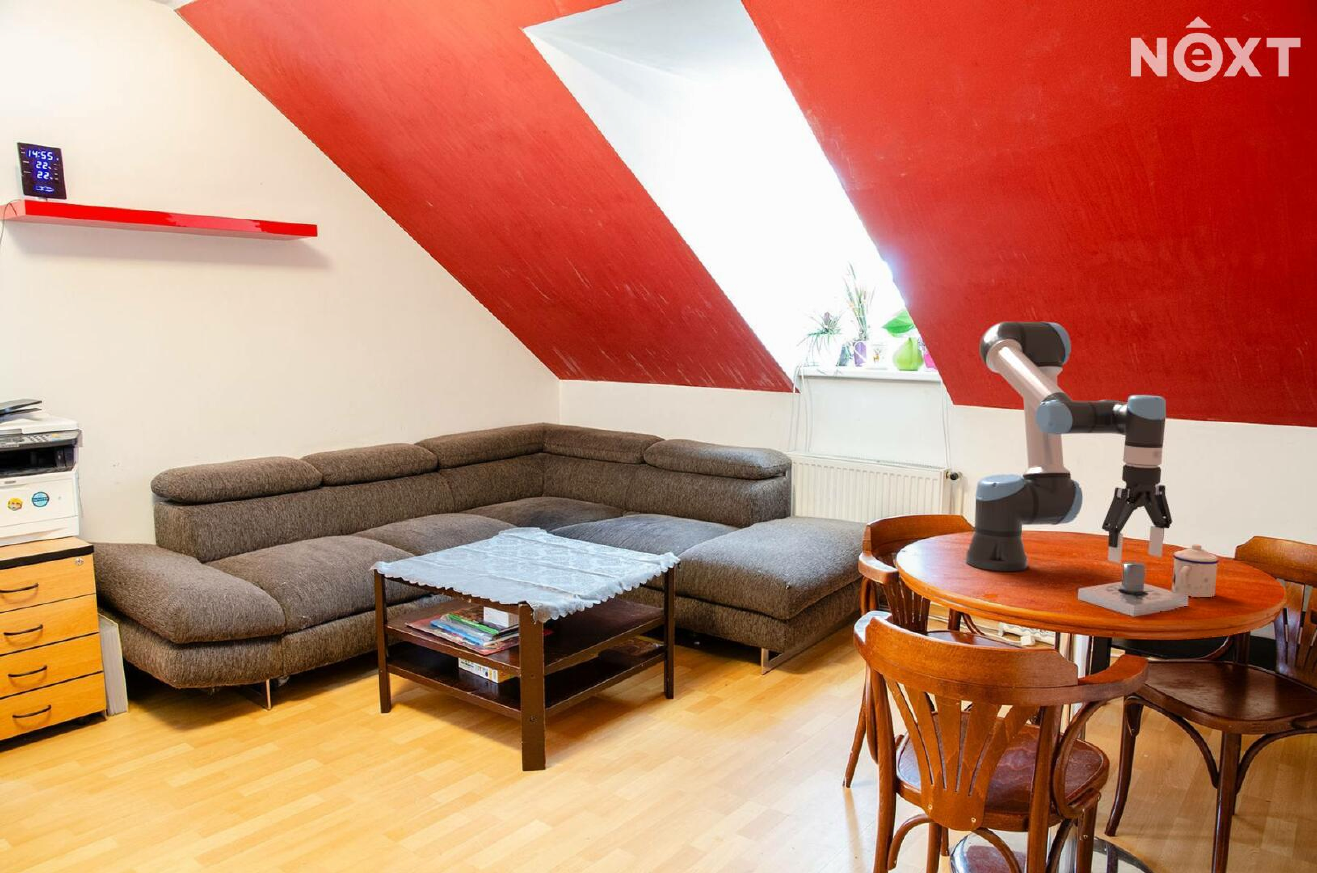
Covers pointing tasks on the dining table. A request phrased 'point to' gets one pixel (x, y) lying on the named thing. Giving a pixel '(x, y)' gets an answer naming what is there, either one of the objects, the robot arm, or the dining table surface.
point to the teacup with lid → (1194, 572)
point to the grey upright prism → (1133, 578)
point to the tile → (1132, 599)
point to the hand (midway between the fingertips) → (1135, 558)
